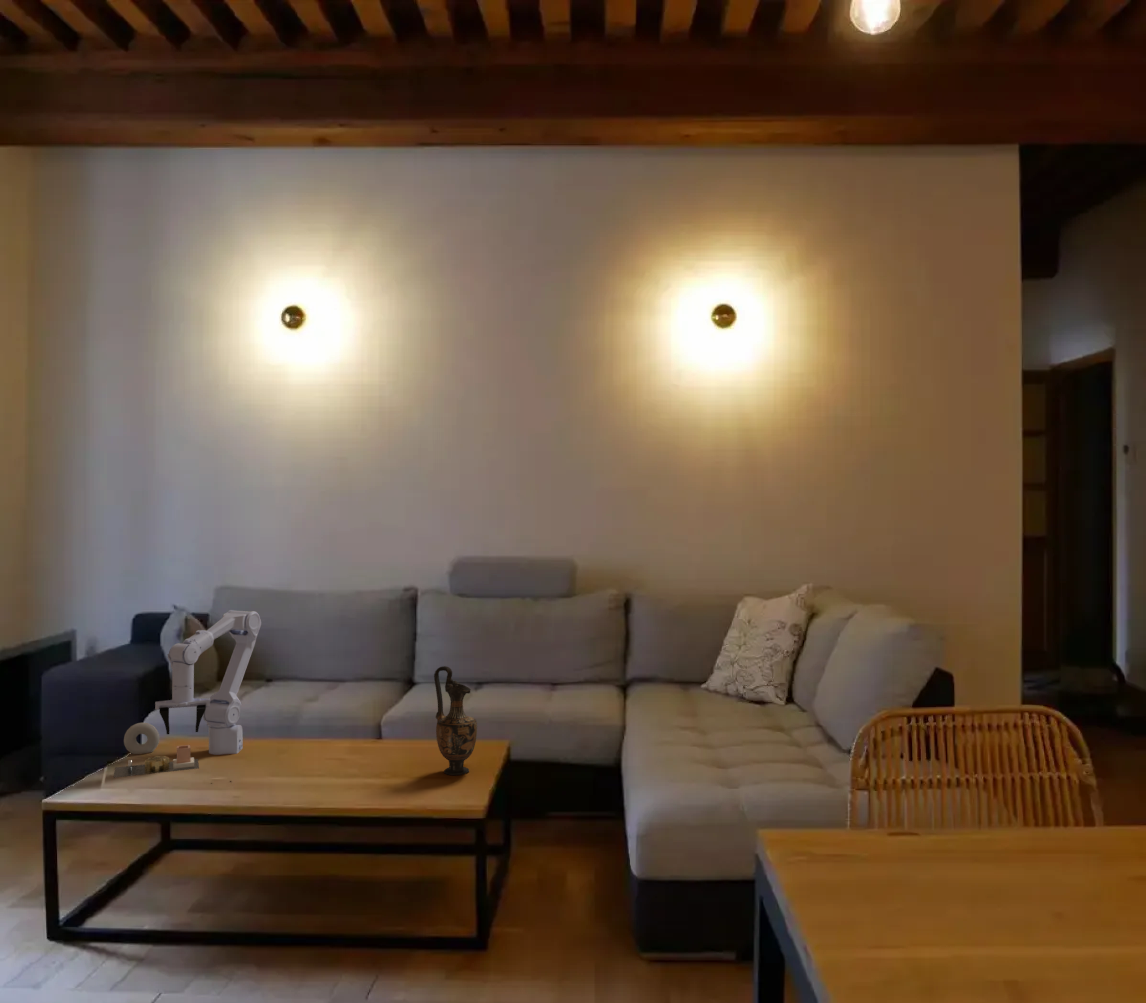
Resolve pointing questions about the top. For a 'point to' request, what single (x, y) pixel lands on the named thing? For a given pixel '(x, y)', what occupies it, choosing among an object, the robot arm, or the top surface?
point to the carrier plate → (141, 769)
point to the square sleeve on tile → (183, 757)
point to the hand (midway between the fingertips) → (182, 732)
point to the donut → (146, 730)
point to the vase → (454, 725)
